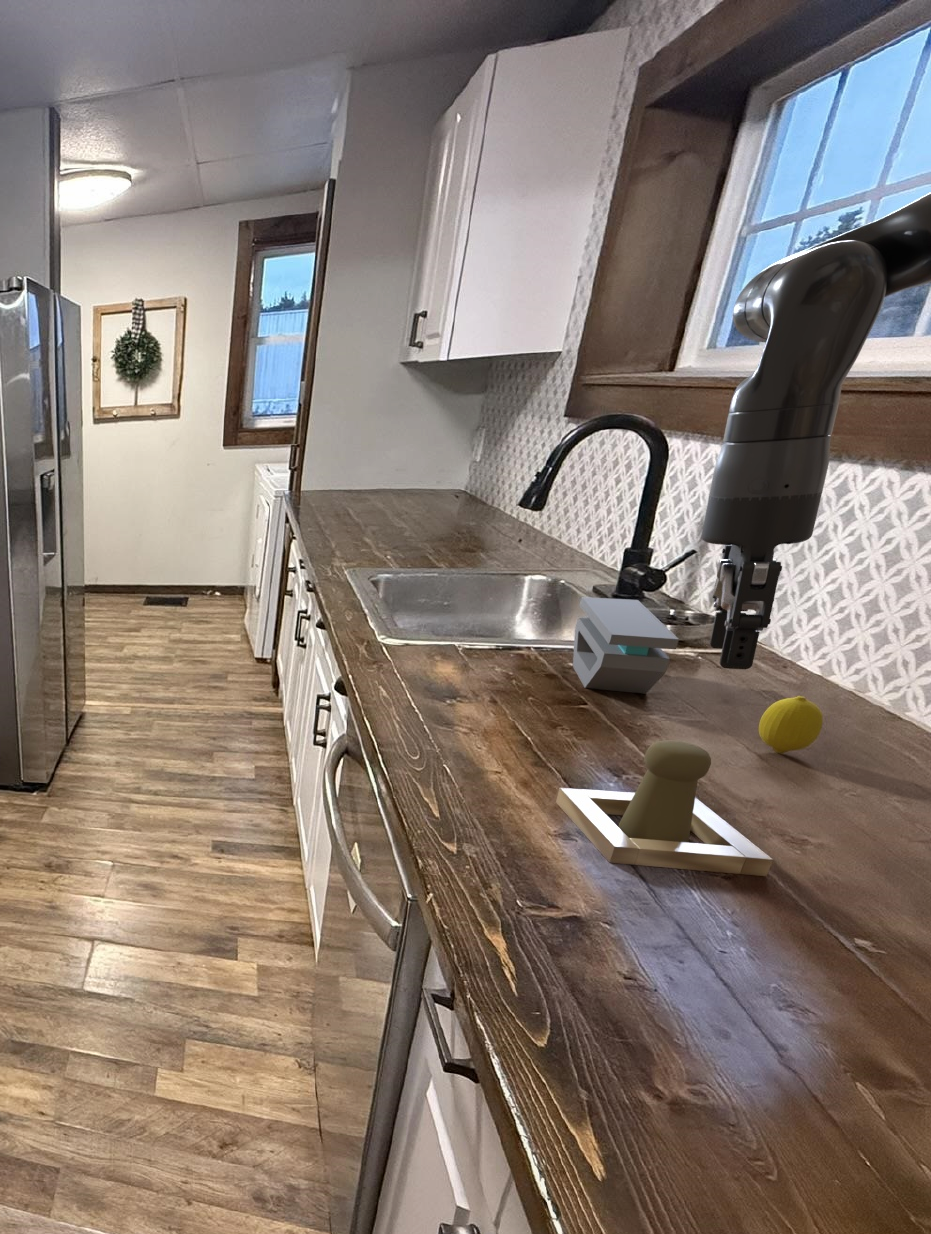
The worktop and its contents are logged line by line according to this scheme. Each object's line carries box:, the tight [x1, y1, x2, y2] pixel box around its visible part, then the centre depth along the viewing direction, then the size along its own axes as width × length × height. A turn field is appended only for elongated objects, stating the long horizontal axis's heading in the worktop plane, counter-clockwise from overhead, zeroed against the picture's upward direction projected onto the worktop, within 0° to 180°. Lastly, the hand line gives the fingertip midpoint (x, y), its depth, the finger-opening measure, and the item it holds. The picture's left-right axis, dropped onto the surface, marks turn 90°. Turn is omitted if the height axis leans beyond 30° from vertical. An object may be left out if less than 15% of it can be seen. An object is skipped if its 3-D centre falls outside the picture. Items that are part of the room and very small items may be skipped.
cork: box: [617, 739, 712, 843], centre depth 83 cm, size 6×6×11 cm
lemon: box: [758, 695, 824, 754], centre depth 100 cm, size 6×6×8 cm
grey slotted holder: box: [572, 596, 680, 695], centre depth 126 cm, size 25×8×11 cm, turn 152°
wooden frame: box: [555, 787, 774, 877], centre depth 84 cm, size 13×13×2 cm
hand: (728, 657), depth 77 cm, fingers open, 8 cm apart
